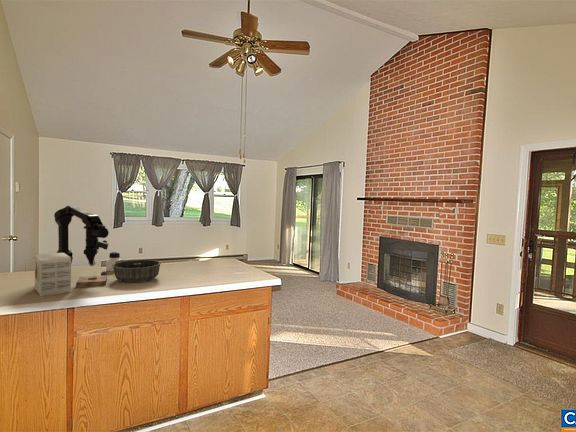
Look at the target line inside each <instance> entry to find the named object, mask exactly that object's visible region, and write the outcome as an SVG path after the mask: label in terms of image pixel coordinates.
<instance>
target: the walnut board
mask: <svg viewBox="0 0 576 432" xmlns="http://www.w3.org/2000/svg"><path fill="white" fill-rule="evenodd" d="M107 282H108V274H107V275H104V276H101V275H92V276H91V275H90V276H89V275H87V276H79V277H78V278H77V281H76V282H75V288H87V287H88V288H89V287H100V286H101V287H102V286H106V285H107Z"/></svg>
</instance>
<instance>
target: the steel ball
mask: <svg viewBox="0 0 576 432" xmlns="http://www.w3.org/2000/svg"><path fill="white" fill-rule="evenodd" d="M88 265H89V267H94V266H95V265H96V261H95V260H94V261H93V265H90V263H89V261H88Z"/></svg>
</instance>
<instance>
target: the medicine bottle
mask: <svg viewBox="0 0 576 432" xmlns="http://www.w3.org/2000/svg"><path fill="white" fill-rule="evenodd" d="M120 256H121V253H120V252H118V251H112V252H110V253H109V256H108V257H109V259H107V260H106V262H105V271H106V272H111V273H114V268H113V266H112V265H113V264H115V263H118V262H122V261H124V260H123V259H122V258H121V257H120Z"/></svg>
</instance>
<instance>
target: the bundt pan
mask: <svg viewBox="0 0 576 432" xmlns="http://www.w3.org/2000/svg"><path fill="white" fill-rule="evenodd" d="M161 264H162V262H160V261H159V260H155V259H154V260H153V259H131V260H130V259H129V260H125V261H124V260H123V261H122V262H118V263H115V264H113V265H112V266H113V268H114V272H113V273H114V276H115V278H116V279H117V280H118V281H119V282H122V283H125V284H126V283H128V284H130V283H131V284H132V283H135V284H136V283H144V282H150V281H152V280H154V279H156V277H157V276H158V275H159V272H160V266H161Z"/></svg>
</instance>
